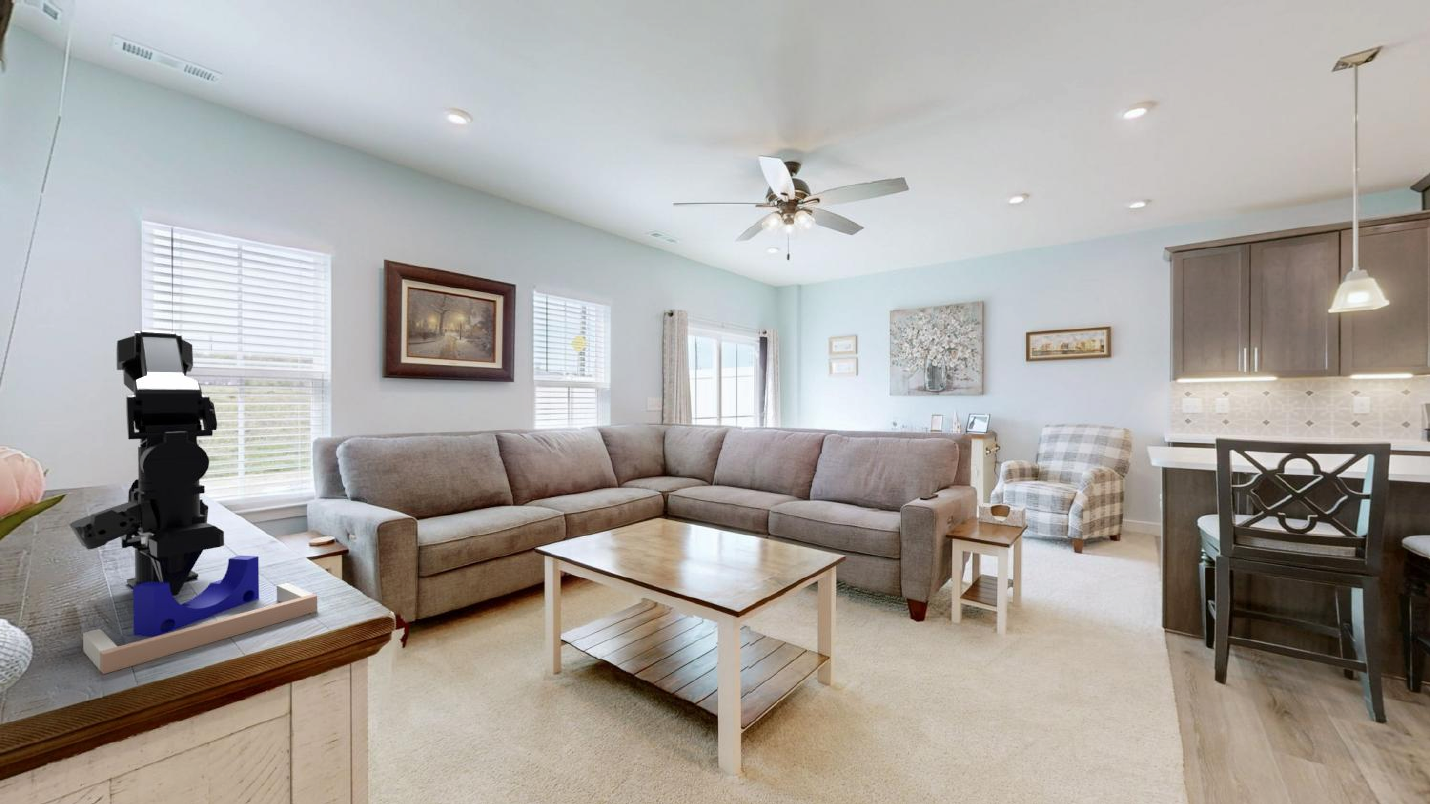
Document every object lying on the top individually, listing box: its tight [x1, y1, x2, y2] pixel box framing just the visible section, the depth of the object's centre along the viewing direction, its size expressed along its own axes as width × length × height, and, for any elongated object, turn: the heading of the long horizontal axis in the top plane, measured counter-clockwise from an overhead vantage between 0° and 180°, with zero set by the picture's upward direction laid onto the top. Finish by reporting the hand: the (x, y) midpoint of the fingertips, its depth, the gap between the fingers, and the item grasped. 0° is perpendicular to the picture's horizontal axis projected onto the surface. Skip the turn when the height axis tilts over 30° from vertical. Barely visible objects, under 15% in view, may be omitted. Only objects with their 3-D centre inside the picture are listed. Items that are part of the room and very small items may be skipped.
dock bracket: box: [82, 582, 318, 675], centre depth 64 cm, size 9×18×2 cm, turn 148°
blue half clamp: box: [132, 554, 260, 638], centre depth 68 cm, size 12×4×6 cm, turn 171°
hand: (171, 596), depth 72 cm, fingers closed
